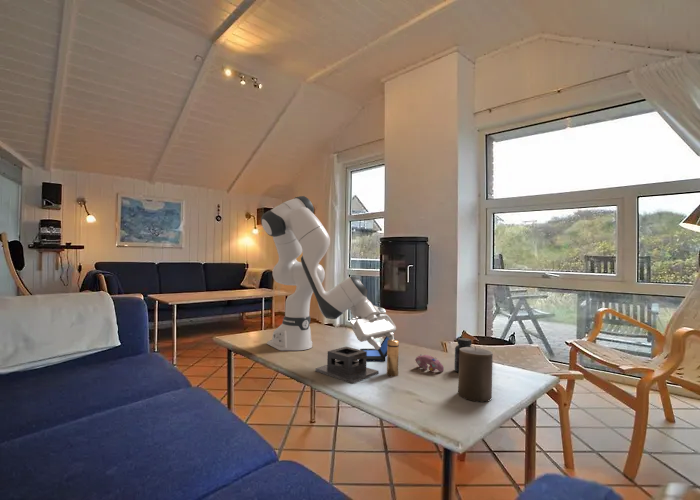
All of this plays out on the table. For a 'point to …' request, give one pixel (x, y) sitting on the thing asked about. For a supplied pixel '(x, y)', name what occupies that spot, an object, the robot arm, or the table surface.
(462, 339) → the supplement bottle
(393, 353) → the gold cylindrical bottle
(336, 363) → the collar stand
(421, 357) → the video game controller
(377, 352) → the handheld game console
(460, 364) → the pillar candle
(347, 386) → the table surface
